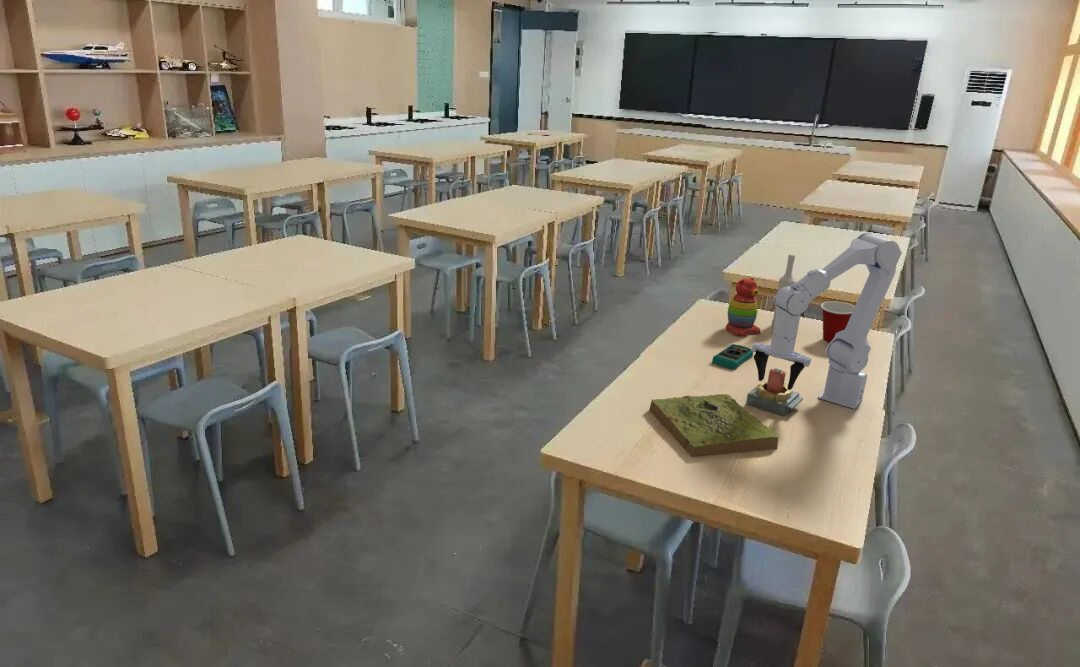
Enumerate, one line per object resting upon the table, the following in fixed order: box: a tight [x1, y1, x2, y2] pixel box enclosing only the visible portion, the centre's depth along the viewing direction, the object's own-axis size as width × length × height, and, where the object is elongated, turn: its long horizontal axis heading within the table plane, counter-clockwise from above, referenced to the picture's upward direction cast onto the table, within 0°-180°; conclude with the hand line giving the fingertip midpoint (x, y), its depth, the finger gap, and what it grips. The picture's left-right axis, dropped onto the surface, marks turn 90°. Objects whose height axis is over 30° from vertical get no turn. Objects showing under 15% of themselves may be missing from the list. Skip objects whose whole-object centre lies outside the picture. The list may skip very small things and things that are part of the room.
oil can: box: [766, 367, 787, 393], centre depth 187 cm, size 4×4×7 cm
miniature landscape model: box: [648, 393, 779, 458], centre depth 174 cm, size 22×24×5 cm
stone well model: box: [745, 381, 804, 417], centre depth 188 cm, size 11×10×4 cm
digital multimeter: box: [711, 343, 754, 370], centre depth 217 cm, size 7×15×3 cm, turn 144°
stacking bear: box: [725, 277, 761, 338], centre depth 239 cm, size 11×10×18 cm
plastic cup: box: [820, 300, 856, 344], centre depth 235 cm, size 11×11×12 cm
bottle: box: [771, 253, 796, 327], centre depth 243 cm, size 5×5×25 cm
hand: (775, 384), depth 187 cm, fingers open, 7 cm apart
